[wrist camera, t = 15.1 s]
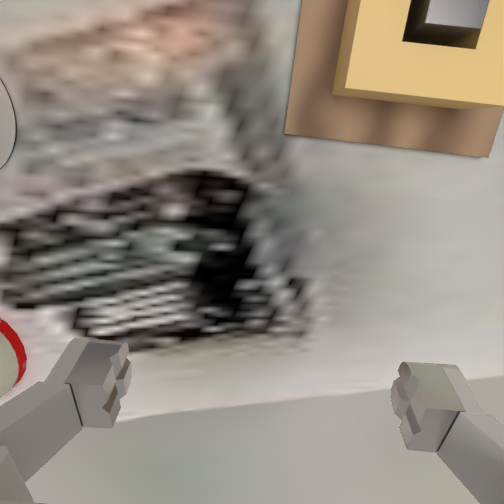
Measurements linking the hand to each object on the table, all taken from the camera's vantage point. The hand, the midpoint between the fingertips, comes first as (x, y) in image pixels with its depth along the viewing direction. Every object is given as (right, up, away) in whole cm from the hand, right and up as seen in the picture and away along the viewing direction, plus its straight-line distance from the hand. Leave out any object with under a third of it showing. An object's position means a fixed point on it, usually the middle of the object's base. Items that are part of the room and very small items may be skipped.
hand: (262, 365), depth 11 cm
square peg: (+14, +23, +22) cm, 35 cm away
